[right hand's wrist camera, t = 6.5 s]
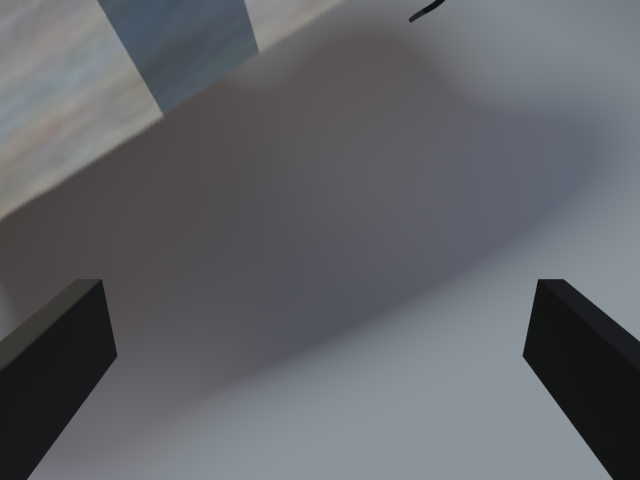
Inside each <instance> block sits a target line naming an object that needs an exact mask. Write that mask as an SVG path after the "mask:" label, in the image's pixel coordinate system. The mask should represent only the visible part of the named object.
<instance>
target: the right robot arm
mask: <svg viewBox="0 0 640 480" xmlns="http://www.w3.org/2000/svg"><path fill="white" fill-rule="evenodd" d="M444 1H445V0H435V1H434V2H433V3H431V4H430V5H428V6H427V7H425V8H423V9H421V10H420V11H418V12H417V13H415V14H414V15H412V16H411V17H410V18H409V22H410V23H412V22H413V21H415V20H416V19H418V18H420V17H421V16H423V15H425V14H427V13H429V12H431V11H432V10H434V9H436V8H437V7H438V6H440V5H441V4H442V3H443V2H444ZM116 357H117V352H116V347H115V342H114V337H113V332H112V327H111V322H110V317H109V312H108V308H107V302H106V298H105V293H104V288H103V283H102V279H76V280H75V281H74V282H72V283H71V284H70V285H69V286H68V287H66V288H65V289H64V290H63V291H61V292H60V293H59V294H58V295H57V296H55V297H54V298H53V299H52V300H51V301H49V302H48V303H47V304H46V305H44V306H43V307H42V308H41V309H40V310H38V311H37V312H36V313H35V314H33V315H32V316H31V317H30V318H29V319H27V320H26V321H25V322H24V323H22V324H21V325H20V326H19V327H18V328H16V329H15V330H14V331H13V332H11V333H10V334H9V335H8V336H7V337H5V338H4V339H3V340H2V341H0V480H27V479H28V477H29V476H30V475H31V473H32V472H33V471H34V469H35V468H36V466H37V465H38V464H39V462H40V461H41V460H42V458H43V457H44V456H45V454H46V453H47V451H48V450H49V449H50V447H51V446H52V445H53V443H54V442H55V441H56V439H57V438H58V436H59V435H60V434H61V432H62V431H63V430H64V428H65V427H66V425H67V424H68V423H69V421H70V420H71V419H72V417H73V416H74V415H75V413H76V412H77V410H78V409H79V408H80V406H81V405H82V404H83V402H84V401H85V400H86V398H87V397H88V396H89V394H90V393H91V391H92V390H93V389H94V387H95V386H96V384H97V383H98V382H99V380H100V379H101V378H102V376H103V375H104V374H105V372H106V371H107V370H108V368H109V367H110V365H111V364H112V363H113V361H114V360H115V359H116ZM523 357H524V359H525V360H526V361H527V363H528V364H529V365H530V367H531V368H532V369H533V371H534V372H535V374H536V375H537V376H538V378H539V379H540V380H541V382H542V383H543V385H544V386H545V387H546V389H547V390H548V391H549V393H550V394H551V395H552V397H553V398H554V400H555V401H556V402H557V404H558V405H559V406H560V408H561V409H562V411H563V412H564V413H565V415H566V416H567V417H568V419H569V420H570V421H571V423H572V424H573V426H574V427H575V428H576V430H577V431H578V432H579V434H580V435H581V436H582V438H583V439H584V441H585V442H586V443H587V445H588V446H589V447H590V449H591V450H592V451H593V453H594V454H595V456H596V457H597V458H598V460H599V461H600V462H601V464H602V465H603V466H604V468H605V469H606V471H607V472H608V473H609V475H610V476H611V477H612V479H613V480H640V341H638V340H637V339H636V338H635V337H633V336H632V335H631V334H630V333H629V332H627V331H626V330H625V329H624V328H622V327H621V326H620V325H619V324H618V323H616V322H615V321H614V320H613V319H611V318H610V317H609V316H608V315H607V314H605V313H604V312H603V311H602V310H600V309H599V308H598V307H597V306H596V305H594V304H593V303H592V302H591V301H590V300H588V299H587V298H586V297H585V296H583V295H582V294H581V293H580V292H579V291H577V290H576V289H575V288H574V287H572V286H571V285H570V284H569V283H568V282H566V281H565V280H564V279H538V283H537V288H536V293H535V297H534V302H533V307H532V312H531V317H530V322H529V327H528V332H527V337H526V342H525V347H524V352H523Z"/></svg>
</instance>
